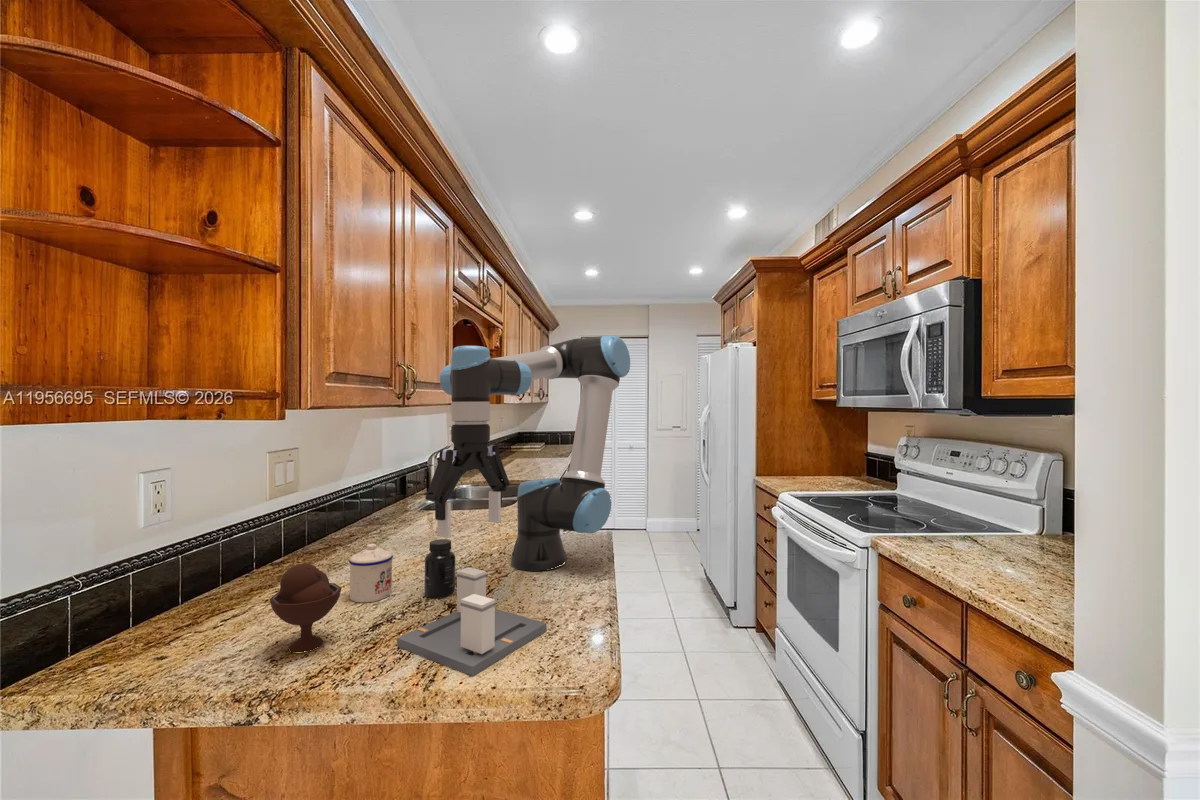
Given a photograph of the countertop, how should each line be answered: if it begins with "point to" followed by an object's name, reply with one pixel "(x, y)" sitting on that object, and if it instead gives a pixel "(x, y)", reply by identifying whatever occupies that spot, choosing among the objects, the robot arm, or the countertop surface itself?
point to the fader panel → (445, 648)
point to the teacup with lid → (370, 574)
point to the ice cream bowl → (304, 602)
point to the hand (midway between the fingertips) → (470, 529)
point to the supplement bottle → (439, 570)
